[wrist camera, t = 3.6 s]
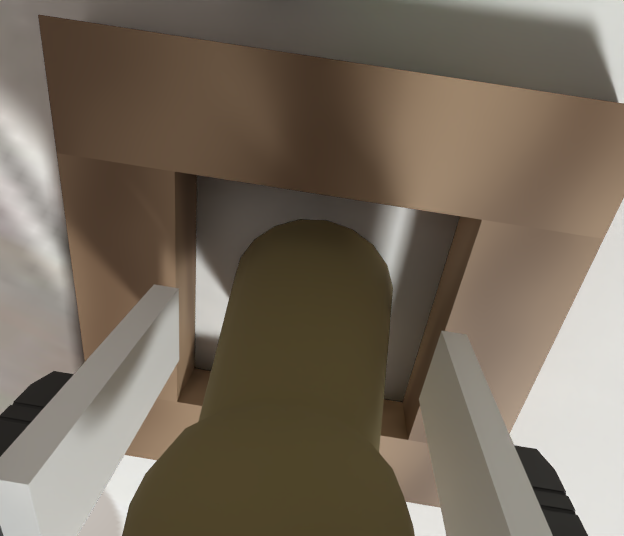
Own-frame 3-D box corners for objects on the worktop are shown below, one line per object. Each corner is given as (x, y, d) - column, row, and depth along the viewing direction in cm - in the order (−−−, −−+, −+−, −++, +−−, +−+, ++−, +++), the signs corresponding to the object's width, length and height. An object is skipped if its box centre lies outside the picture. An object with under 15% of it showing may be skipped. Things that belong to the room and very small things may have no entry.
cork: (202, 288, 16) (-28, 635, 6) (314, 183, 14) (229, 464, 4) (310, 381, 18) (259, 776, 8) (426, 300, 16) (554, 705, 6)
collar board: (620, 103, 12) (665, 110, 10) (460, 470, 19) (471, 512, 18) (82, 21, 12) (37, 14, 11) (120, 414, 20) (96, 450, 18)
